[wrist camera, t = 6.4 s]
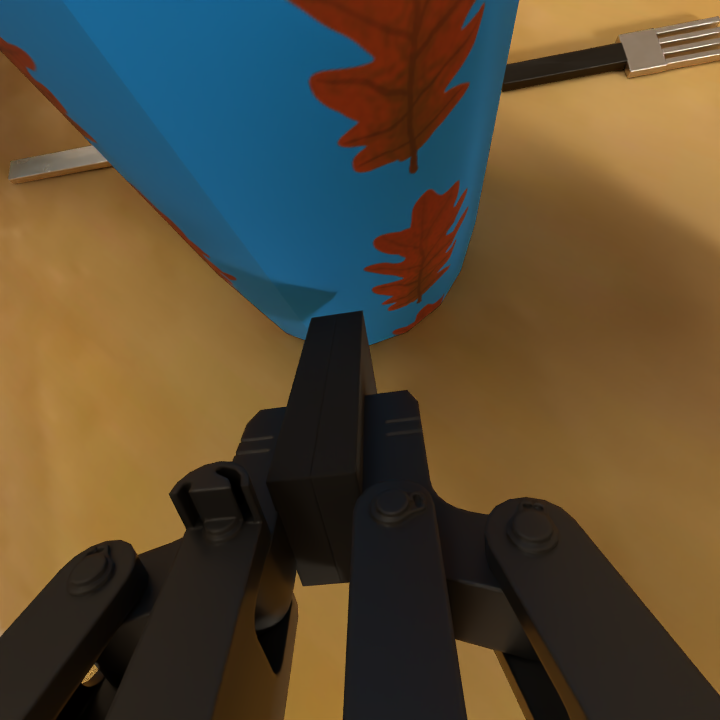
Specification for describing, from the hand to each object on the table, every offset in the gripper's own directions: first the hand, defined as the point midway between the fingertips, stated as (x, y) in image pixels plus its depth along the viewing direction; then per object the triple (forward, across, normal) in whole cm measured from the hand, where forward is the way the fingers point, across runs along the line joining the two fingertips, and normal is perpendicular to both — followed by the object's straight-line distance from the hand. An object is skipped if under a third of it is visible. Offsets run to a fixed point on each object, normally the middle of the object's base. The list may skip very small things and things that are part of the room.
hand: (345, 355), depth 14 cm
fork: (+14, +13, +6) cm, 20 cm away
